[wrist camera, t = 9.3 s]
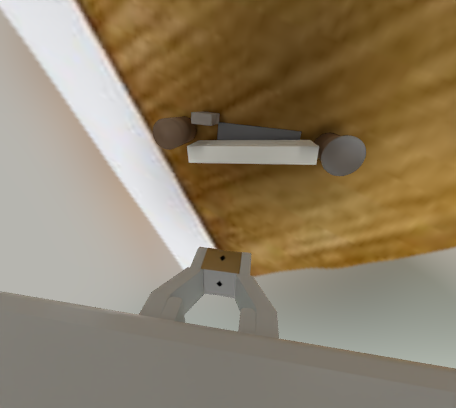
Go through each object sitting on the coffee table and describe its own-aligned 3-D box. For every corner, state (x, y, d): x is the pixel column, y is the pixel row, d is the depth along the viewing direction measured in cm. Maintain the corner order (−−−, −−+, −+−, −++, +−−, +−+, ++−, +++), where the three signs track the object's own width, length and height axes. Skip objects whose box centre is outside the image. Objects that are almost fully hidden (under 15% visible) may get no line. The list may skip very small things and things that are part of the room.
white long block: (310, 139, 20) (319, 146, 17) (307, 155, 21) (316, 164, 18) (198, 140, 22) (187, 146, 19) (200, 154, 23) (188, 162, 20)
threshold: (218, 122, 22) (218, 122, 22) (301, 131, 21) (301, 131, 21) (217, 144, 23) (216, 144, 23) (295, 154, 22) (296, 154, 22)
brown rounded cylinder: (172, 108, 22) (151, 108, 18) (219, 113, 22) (208, 114, 17) (173, 140, 24) (153, 147, 20) (217, 145, 23) (206, 154, 19)
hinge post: (315, 127, 21) (329, 133, 16) (348, 131, 20) (372, 138, 16) (306, 159, 22) (316, 173, 18) (337, 163, 22) (356, 178, 17)
